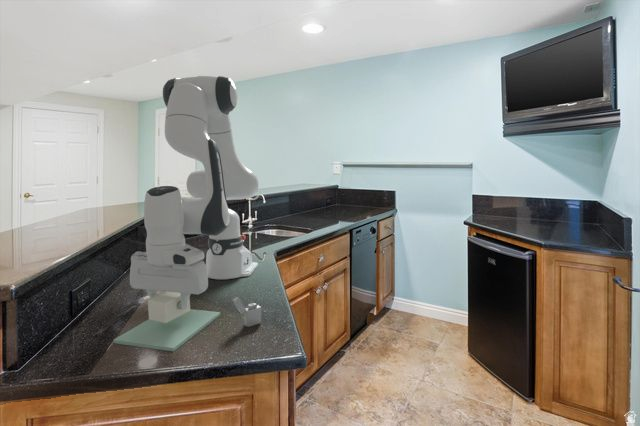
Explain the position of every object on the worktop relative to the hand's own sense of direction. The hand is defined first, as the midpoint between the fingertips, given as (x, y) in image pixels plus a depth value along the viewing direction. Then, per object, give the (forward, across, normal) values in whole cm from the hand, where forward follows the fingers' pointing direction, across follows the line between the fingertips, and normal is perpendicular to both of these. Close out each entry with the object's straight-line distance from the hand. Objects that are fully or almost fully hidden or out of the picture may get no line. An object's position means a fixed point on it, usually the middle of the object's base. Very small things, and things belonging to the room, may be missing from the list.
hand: (169, 307), depth 90 cm
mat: (+5, 0, 0) cm, 5 cm away
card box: (+2, 0, 0) cm, 2 cm away
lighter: (+6, +18, +6) cm, 20 cm away
